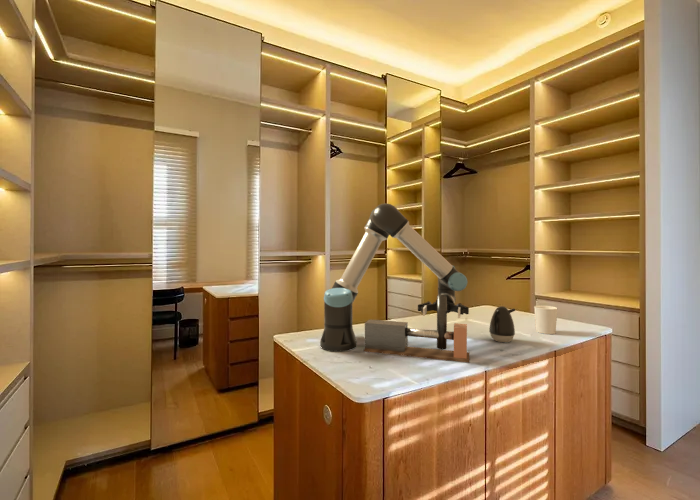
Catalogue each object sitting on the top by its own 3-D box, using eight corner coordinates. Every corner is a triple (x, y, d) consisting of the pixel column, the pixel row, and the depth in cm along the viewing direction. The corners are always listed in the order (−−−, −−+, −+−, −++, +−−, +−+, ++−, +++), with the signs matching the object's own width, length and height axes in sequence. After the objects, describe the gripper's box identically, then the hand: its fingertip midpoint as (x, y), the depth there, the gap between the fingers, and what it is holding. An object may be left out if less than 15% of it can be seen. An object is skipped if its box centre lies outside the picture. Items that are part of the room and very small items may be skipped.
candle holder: (529, 329, 171) (529, 305, 171) (548, 329, 172) (548, 305, 172) (542, 335, 161) (542, 309, 161) (562, 334, 163) (562, 308, 162)
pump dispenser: (518, 345, 146) (518, 308, 146) (491, 343, 148) (492, 308, 148) (511, 338, 156) (512, 304, 156) (487, 337, 158) (487, 303, 158)
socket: (453, 357, 127) (453, 327, 127) (454, 351, 134) (454, 323, 134) (466, 358, 126) (466, 328, 126) (466, 352, 132) (466, 324, 132)
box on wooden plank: (364, 348, 139) (364, 322, 138) (369, 343, 145) (369, 319, 144) (404, 352, 133) (404, 325, 133) (407, 347, 139) (407, 322, 139)
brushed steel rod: (396, 345, 136) (396, 294, 135) (398, 342, 139) (398, 292, 139) (460, 351, 128) (461, 297, 128) (461, 348, 131) (461, 295, 131)
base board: (363, 351, 137) (363, 349, 137) (369, 345, 146) (369, 342, 146) (469, 362, 125) (469, 359, 125) (469, 354, 133) (469, 352, 133)
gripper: (474, 313, 145) (475, 325, 124) (416, 310, 153) (408, 320, 132) (475, 296, 145) (476, 304, 124) (416, 293, 153) (408, 301, 132)
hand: (441, 313), depth 128 cm, fingers open, 12 cm apart
